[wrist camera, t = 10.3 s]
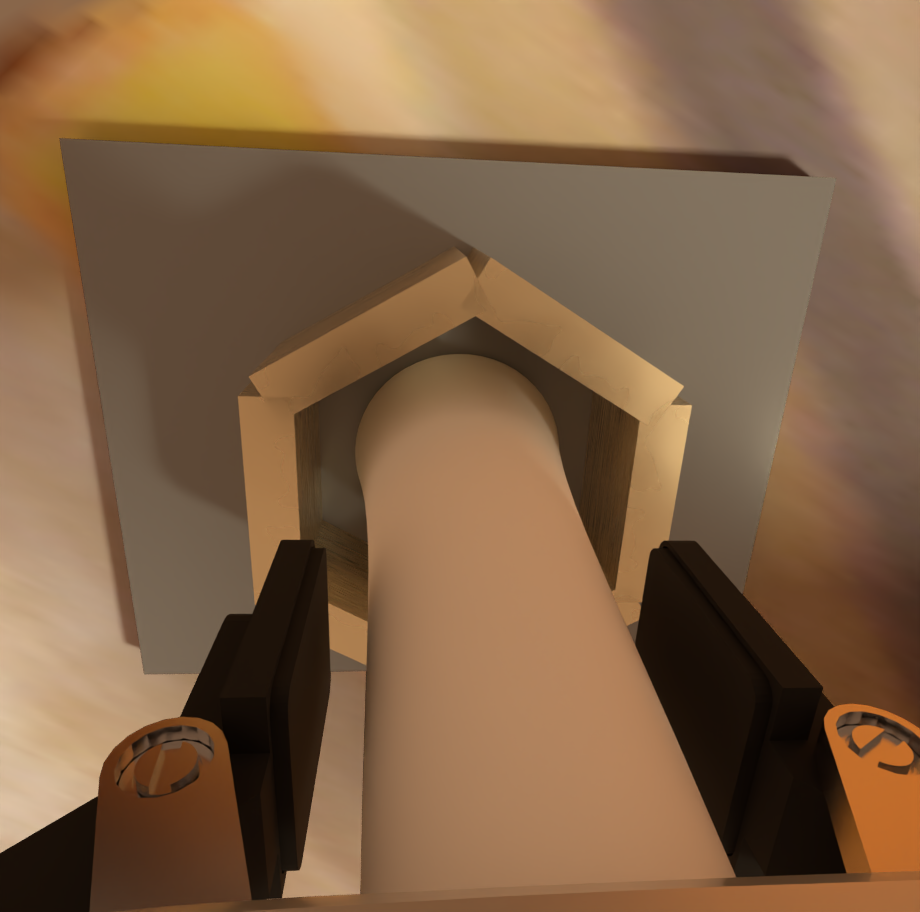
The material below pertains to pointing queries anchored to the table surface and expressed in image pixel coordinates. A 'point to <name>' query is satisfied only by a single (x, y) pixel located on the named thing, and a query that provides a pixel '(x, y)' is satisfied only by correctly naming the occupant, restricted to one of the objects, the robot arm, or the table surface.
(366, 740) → the cosmetic bottle
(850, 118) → the table surface
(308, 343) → the wooden hex collar
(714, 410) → the slate board
